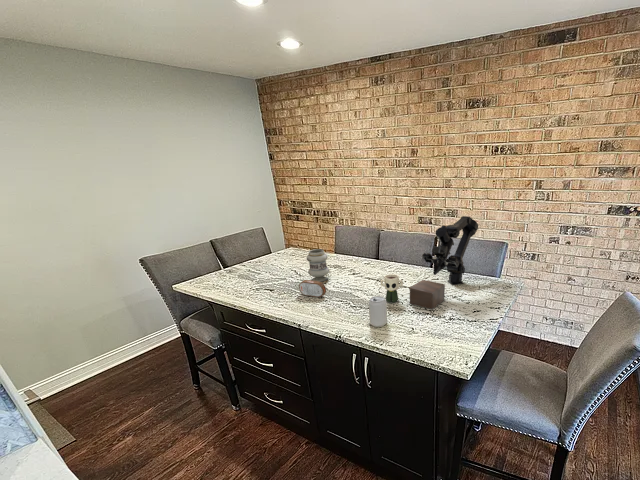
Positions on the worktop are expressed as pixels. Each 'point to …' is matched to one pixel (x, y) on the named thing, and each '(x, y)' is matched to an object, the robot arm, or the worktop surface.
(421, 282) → the chest lid
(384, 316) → the can
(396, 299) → the character mug
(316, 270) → the apothecary jar
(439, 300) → the box
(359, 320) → the worktop surface
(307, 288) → the tin
